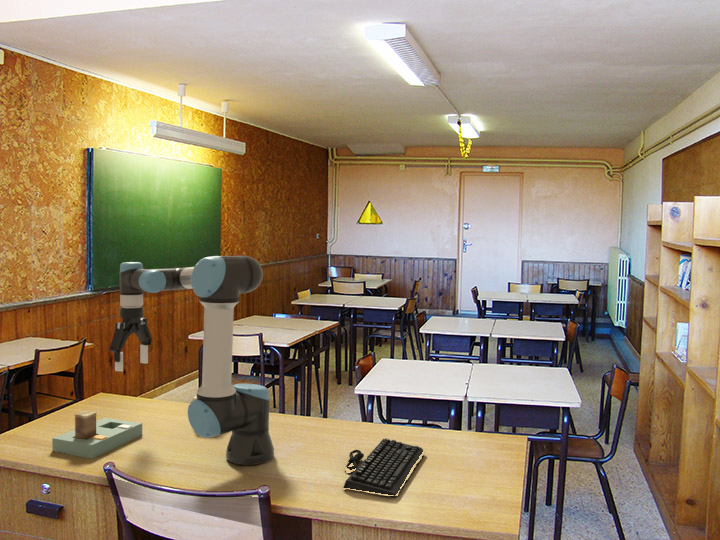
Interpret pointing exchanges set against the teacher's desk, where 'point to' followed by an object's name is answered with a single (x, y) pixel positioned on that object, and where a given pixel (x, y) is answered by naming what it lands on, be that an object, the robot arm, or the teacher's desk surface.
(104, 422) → the socket board
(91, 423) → the plug
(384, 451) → the keyboard
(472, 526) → the teacher's desk surface
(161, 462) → the teacher's desk surface
